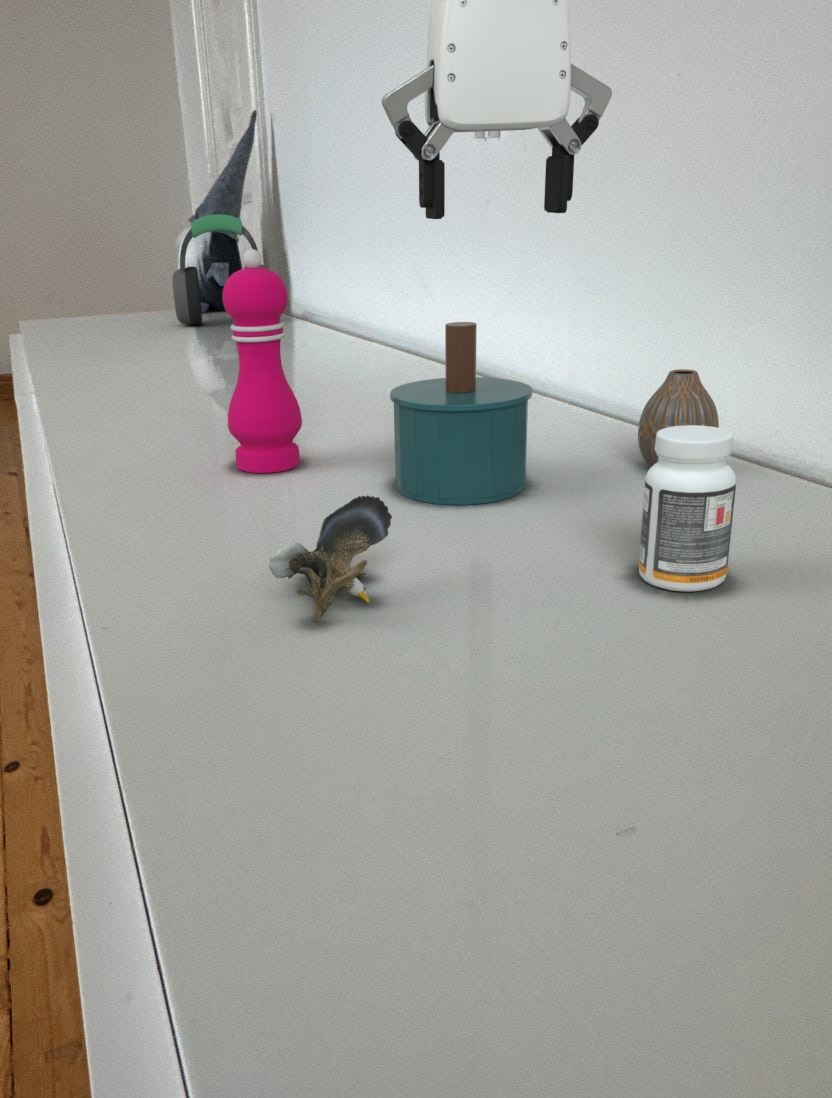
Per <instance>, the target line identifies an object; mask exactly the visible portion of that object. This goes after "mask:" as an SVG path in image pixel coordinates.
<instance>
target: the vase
mask: <svg viewBox="0 0 832 1098" xmlns="http://www.w3.org/2000/svg"><path fill="white" fill-rule="evenodd" d="M686 425H698V426H710V427H717V428H720V421H719V413H718V410H717V407H716V404H715V401H714V400H713V398H712V396H711V395H710V393H709V392H708V391H707V389H706V388H705V386H704V385H703V383H702V381H701V378H700V375H699V372H698V371H697V370H694V369H686V368H685V369H683V368H682V369H681V368H680V369H673V370H670V371H669V372H668V374H667V376H666V378H665V379H664V381H663V382H662V384H661V385H660V386H659V387H658V388H657V389H656V390H655V392H653V394H652V395H651V397H650V398H649V399H648V400H647V402H646V403H645V405H644V408H643V409H642V411H641V414H640V418H639V421H638V429H637V441H638V448H639V452H640V454H641V457H642V458H643V460H644V462H645V463H646V464H647V465H648V467H649V468H651V467H652V466H653V465H654V464H656V463H657V462H658V459H659V456H657V453H656V452H655V441H656V434H657V432H658V431H659V430H661V429H664V428H667V427H674V426H686Z"/></svg>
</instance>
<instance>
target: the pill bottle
mask: <svg viewBox="0 0 832 1098" xmlns="http://www.w3.org/2000/svg"><path fill="white" fill-rule="evenodd" d="M733 448H734V433H732V431H730V430H728V429H726V428H721V427H719V428H717V427H710V426H698V425H686V426H674V427H667V428H664V429H661V430H659V431H658V432H657V434H656V441H655V452H656V453H657V456H659V459H658V462H657V463H656V464H654V465H653V466H652V467H649V469H648V470H647V472H646V475H645V479H644V488H643V489H644V490H643V505H642V507H643V508H642V515H641V516H642V518H641V531H640V542H639V544H640V545H639V556H638V571H639V572H638V573H639V575H640V577H641V578H642V579H643V580H644V581H645V582H646V583H648V584H649V585H651V586H653V587H657V588H659V589H664V590H669V591H673V592H674V591H675V592H700V591H706V590H709V589H714V588H716V587H717V586H720V585H721V584H722V583H723V582H724V581H725V580H726V579H727V578H726V577H727V572H728V567H729V557H730V547H731V537H732V536H731V535H732V530H733V529H732V527H733V517H734V509H735V508H734V507H735V500H736V499H735V498H736V489H737V476H736V473H735V471H734V469H733V468H732V467H731V466H730V465H729V464H728V463H727V461H728V458H729V457H730V455H731V454H732V452H733Z"/></svg>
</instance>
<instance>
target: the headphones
mask: <svg viewBox="0 0 832 1098" xmlns="http://www.w3.org/2000/svg"><path fill="white" fill-rule="evenodd" d="M190 227H191V228H190V229H189V230H188V231H187V233H186V234H185V237H184V238H183V241H182V243H181V247H180V254H179V268H177V269H176V270H174V271H173V274H172V291H173V302H174V309H175V314H176V319H177V320H178V322H179V323H180V324H182V325H191V326H192V325H193V326H201V325H202V324H203V311H202V300H201V291H200V282H199V273H198V268H197V266H187V267H186V256H187V255H186V254H187V251H188V247H189V244H190V242H191V240H192V239H196V238H197V237H199V236H200V235H203V234H206V233H210V232H217V231H219V232H220V231H221V232H229V233H233V234H236V235H238V236H243V237H244V238H245V239H246V241H247V242H248V243H249V245H250V247H251V249H254V250H257V251H258V252H259V249H258V246H257V244H256V241H255V239H254V237H253V236H252V233H250V232H249V230H248V229H247V228H246V227H245V226H244V225H243V222H242V220H241V218H238V217H236V216H233V215H230V214H222V213H221V214H220V213H219V214H218V213H217V214H207V215H204V216H201V217H198V218H196V219H194V220H193V221H192V222H191V225H190ZM243 266H244V265H243ZM244 268H246V267H245V266H244ZM244 268H243V269H244ZM260 268H266V269H269V268H268V266H266V265H265V264H262V263H261V265H260Z"/></svg>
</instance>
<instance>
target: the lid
mask: <svg viewBox="0 0 832 1098" xmlns="http://www.w3.org/2000/svg"><path fill="white" fill-rule="evenodd" d="M444 325H445V327H444V328H445V333H444V334H445V335H444V336H445V339H444V341H445V344H444V345H445V346H444V347H445V349H444V350H445V351H444V352H445V353H444V354H445V358H444V359H445V377H440V378H430V379H422V380H417V381H416V380H415V381H412V382H407V383H403V384H400V385H397V386H396V387H394V388H393V389H391V391H389V398H390V401H391V402H392V403H393V404H394V403H395V404H398V405H400V406H404V407H408V408H414V409H421V410H431V411H476V410H488V409H496V408H503V407H508V406H513V405H516V404H520V403H523V402H525V401H527V400H528V401H529V400H530V399H531V398H532V397H533V388H532V386H531V385H529V384H527V383H525V382H521V381H517V380H513V379H507V378H500V377H487V376H485V377H484V376H477V325H478V324H477V323H476V322H473V321H455V322H454V321H453V322H447V323H445V324H444Z"/></svg>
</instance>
